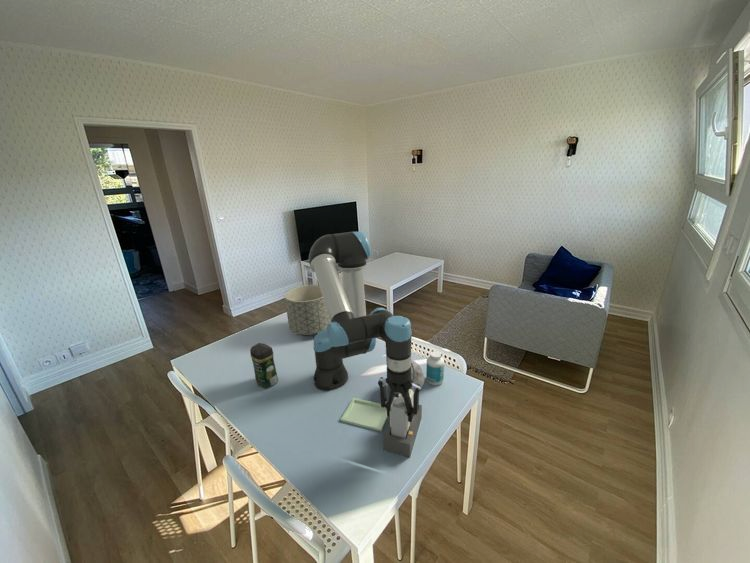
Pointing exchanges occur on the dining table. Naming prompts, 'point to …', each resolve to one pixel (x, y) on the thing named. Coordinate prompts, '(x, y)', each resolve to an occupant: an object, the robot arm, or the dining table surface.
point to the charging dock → (406, 445)
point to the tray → (365, 414)
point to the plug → (398, 418)
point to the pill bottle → (435, 368)
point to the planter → (306, 310)
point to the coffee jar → (264, 365)
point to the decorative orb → (416, 375)
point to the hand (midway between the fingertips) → (399, 425)
